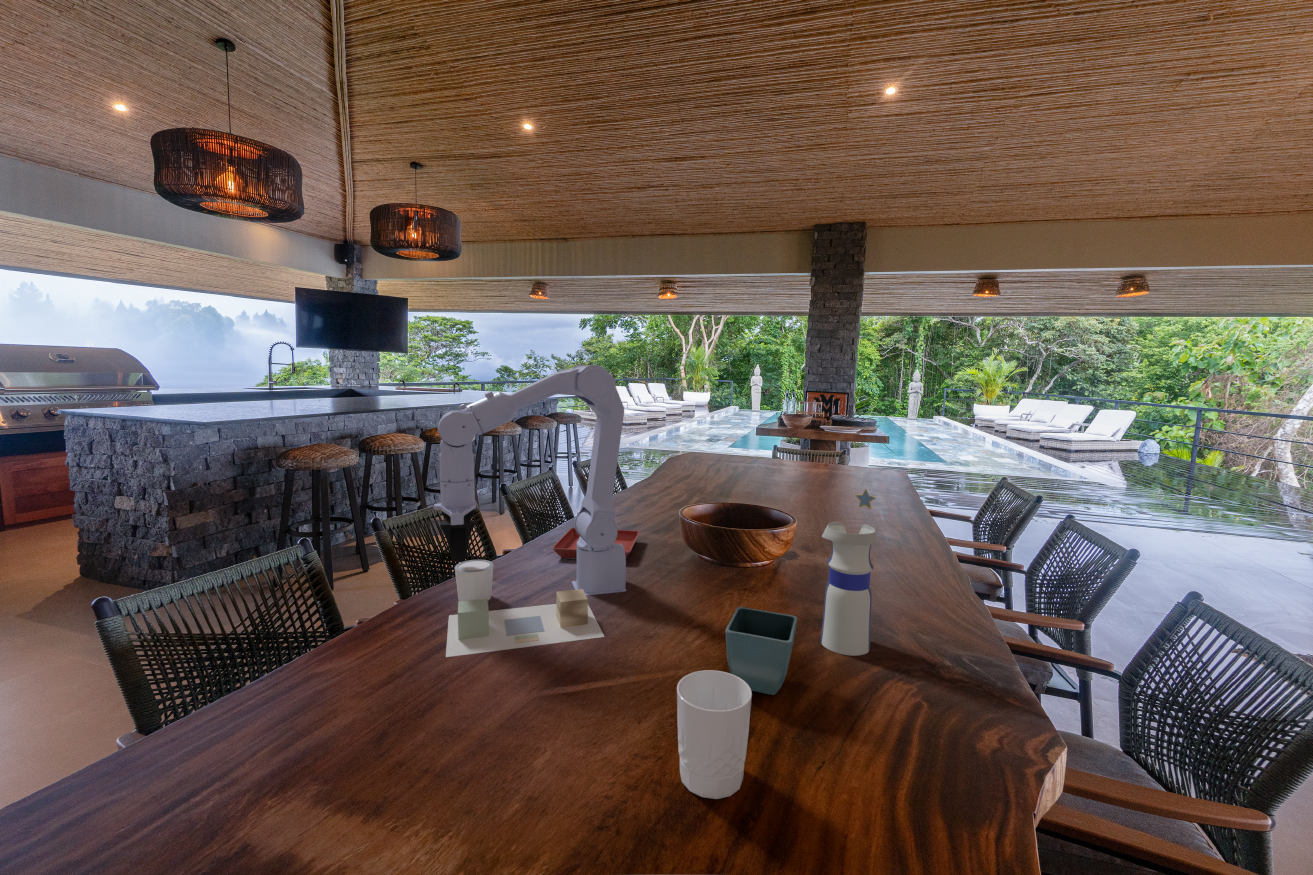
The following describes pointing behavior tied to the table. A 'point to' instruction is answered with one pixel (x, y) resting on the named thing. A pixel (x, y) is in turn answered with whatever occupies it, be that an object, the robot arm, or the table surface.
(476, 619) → the sage block
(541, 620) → the blueprint baseplate
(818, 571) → the table surface
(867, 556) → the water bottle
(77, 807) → the table surface
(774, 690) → the flower pot
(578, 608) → the maple block
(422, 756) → the table surface
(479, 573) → the white tumbler
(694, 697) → the white cup
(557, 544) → the plant saucer
